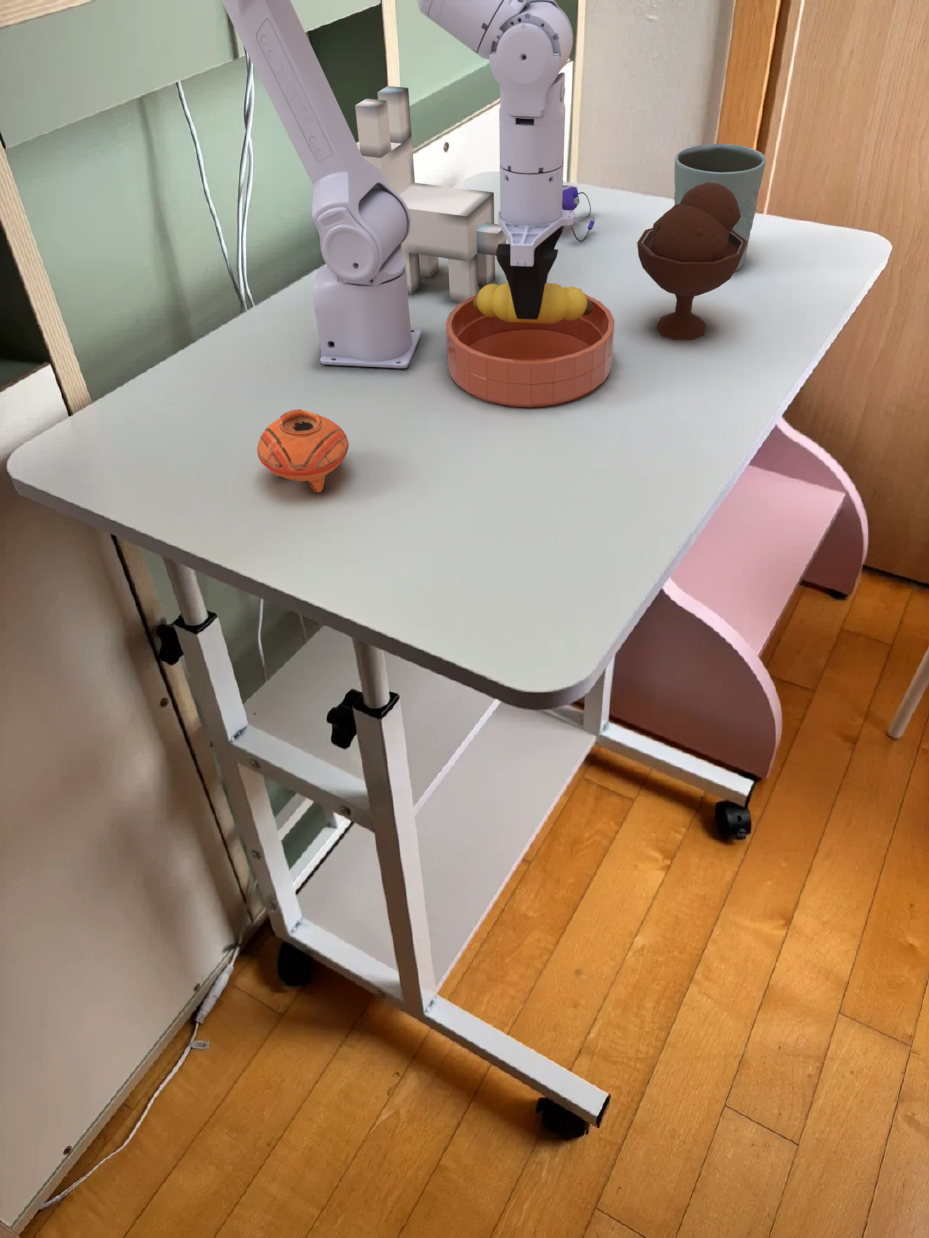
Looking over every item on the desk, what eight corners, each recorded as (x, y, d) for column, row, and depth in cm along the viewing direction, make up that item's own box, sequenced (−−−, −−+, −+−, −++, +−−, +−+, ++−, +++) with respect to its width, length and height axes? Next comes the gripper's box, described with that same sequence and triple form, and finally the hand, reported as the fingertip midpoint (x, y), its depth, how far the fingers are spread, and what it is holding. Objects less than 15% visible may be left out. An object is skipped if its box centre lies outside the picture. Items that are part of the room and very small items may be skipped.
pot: (297, 439, 90) (301, 380, 85) (361, 480, 88) (369, 422, 83) (237, 478, 85) (237, 418, 80) (303, 523, 83) (308, 464, 78)
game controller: (507, 187, 127) (581, 165, 126) (522, 251, 130) (594, 230, 129) (515, 190, 118) (594, 166, 117) (530, 258, 121) (607, 235, 121)
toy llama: (489, 307, 110) (486, 118, 96) (356, 285, 115) (334, 103, 102) (514, 281, 115) (514, 97, 101) (384, 261, 120) (368, 84, 106)
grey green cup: (743, 282, 112) (761, 175, 104) (657, 274, 115) (668, 169, 106) (752, 248, 119) (770, 145, 111) (670, 241, 122) (682, 140, 113)
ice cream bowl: (661, 297, 110) (677, 160, 100) (750, 323, 105) (776, 181, 94) (610, 333, 104) (621, 190, 94) (702, 362, 99) (724, 214, 89)
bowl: (434, 404, 95) (432, 358, 91) (462, 326, 107) (460, 282, 103) (606, 414, 92) (609, 367, 89) (614, 332, 104) (618, 288, 101)
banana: (467, 327, 95) (466, 290, 93) (474, 307, 99) (473, 271, 96) (589, 332, 94) (591, 295, 91) (592, 311, 97) (594, 275, 94)
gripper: (569, 194, 80) (563, 344, 89) (582, 138, 90) (576, 278, 100) (486, 192, 81) (489, 341, 90) (508, 137, 91) (508, 275, 101)
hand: (529, 308), depth 95 cm, fingers closed on banana, 4 cm apart
